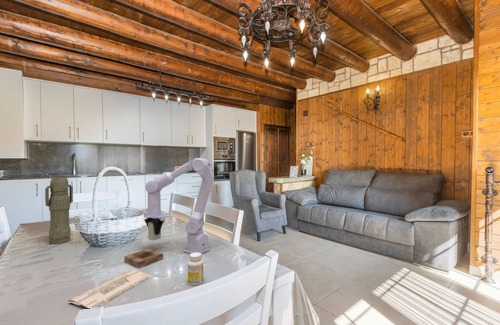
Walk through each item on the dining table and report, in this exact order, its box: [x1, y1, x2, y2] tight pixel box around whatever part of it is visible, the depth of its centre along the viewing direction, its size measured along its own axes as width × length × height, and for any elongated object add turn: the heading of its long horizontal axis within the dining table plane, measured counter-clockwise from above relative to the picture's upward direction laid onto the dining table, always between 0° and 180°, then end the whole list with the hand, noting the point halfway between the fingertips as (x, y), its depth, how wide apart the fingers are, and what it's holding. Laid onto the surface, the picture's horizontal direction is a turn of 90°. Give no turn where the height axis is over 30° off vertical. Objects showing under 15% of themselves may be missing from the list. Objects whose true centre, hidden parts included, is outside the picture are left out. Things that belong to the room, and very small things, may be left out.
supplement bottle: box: [187, 252, 204, 286], centre depth 83 cm, size 5×5×10 cm
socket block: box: [124, 248, 164, 270], centre depth 102 cm, size 11×11×2 cm
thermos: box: [44, 175, 74, 245], centre depth 127 cm, size 9×12×35 cm
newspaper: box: [67, 269, 152, 309], centre depth 79 cm, size 23×12×2 cm, turn 157°
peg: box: [147, 222, 162, 242], centre depth 114 cm, size 4×4×8 cm
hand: (154, 233), depth 114 cm, fingers closed on peg, 4 cm apart
